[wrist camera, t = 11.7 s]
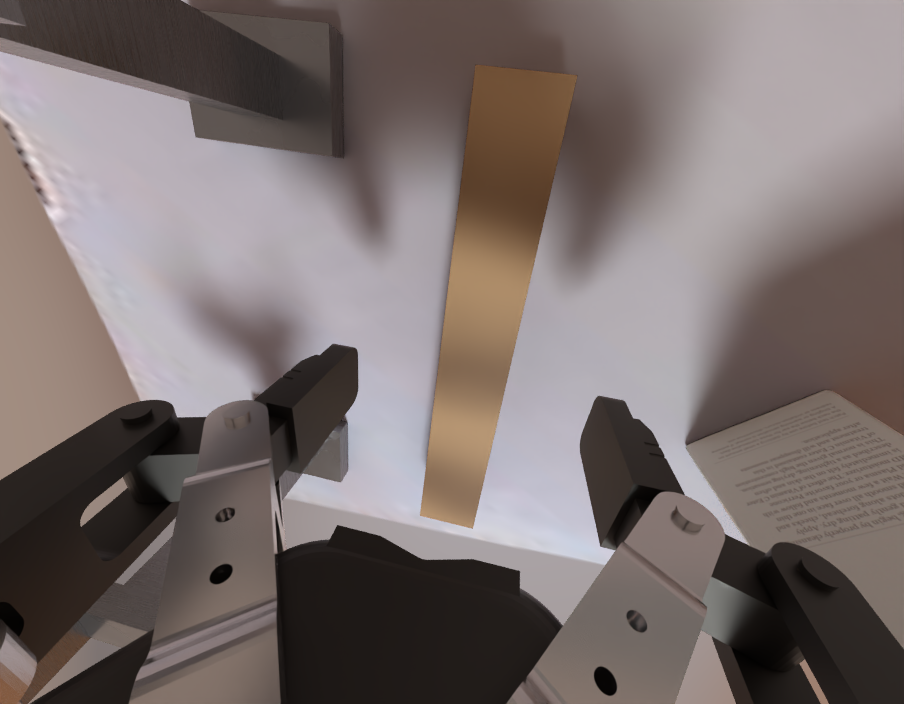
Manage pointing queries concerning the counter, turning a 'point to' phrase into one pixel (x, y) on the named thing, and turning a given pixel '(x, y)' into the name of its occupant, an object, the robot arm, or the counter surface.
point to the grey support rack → (214, 117)
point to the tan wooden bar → (490, 272)
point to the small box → (818, 490)
